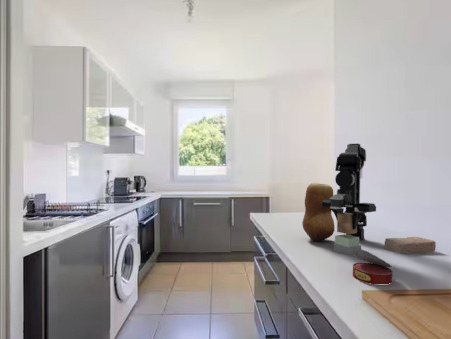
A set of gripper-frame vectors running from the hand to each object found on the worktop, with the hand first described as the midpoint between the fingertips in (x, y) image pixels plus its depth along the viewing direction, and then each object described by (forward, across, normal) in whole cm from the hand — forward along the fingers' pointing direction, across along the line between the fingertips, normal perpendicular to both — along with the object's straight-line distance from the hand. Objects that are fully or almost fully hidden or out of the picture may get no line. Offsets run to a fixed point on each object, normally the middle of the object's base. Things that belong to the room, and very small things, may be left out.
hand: (347, 228), depth 106 cm
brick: (+9, +12, +24) cm, 28 cm away
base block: (+9, 0, 0) cm, 9 cm away
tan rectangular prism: (+2, 0, 0) cm, 2 cm away
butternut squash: (+9, -17, +6) cm, 20 cm away
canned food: (+9, +19, -20) cm, 29 cm away
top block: (+6, 0, 0) cm, 6 cm away
